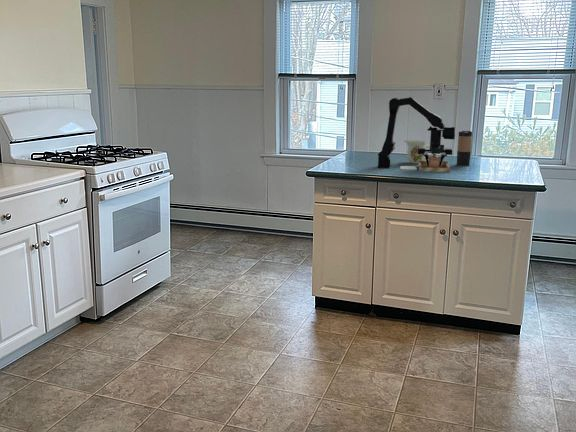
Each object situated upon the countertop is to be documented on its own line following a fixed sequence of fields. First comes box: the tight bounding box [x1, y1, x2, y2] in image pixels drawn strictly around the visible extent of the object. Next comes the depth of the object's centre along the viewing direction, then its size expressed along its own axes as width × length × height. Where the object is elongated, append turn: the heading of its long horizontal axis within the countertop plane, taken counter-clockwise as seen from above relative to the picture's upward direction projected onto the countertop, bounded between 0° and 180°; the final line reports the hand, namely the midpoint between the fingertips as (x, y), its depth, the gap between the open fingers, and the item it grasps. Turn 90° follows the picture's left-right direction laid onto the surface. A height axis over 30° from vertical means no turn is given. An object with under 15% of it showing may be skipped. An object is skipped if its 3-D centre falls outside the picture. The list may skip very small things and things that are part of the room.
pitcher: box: [403, 139, 433, 165], centre depth 340 cm, size 11×18×14 cm, turn 81°
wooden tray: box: [417, 160, 451, 173], centre depth 320 cm, size 16×16×4 cm
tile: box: [399, 165, 418, 171], centre depth 323 cm, size 9×9×1 cm
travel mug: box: [456, 130, 473, 167], centre depth 332 cm, size 8×8×20 cm
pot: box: [428, 154, 441, 168], centre depth 319 cm, size 7×7×9 cm
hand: (433, 166), depth 320 cm, fingers closed on pot, 6 cm apart
